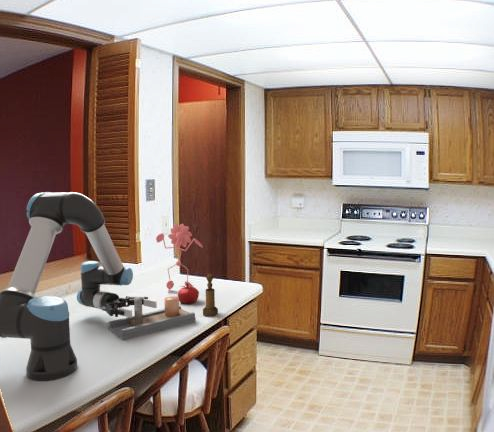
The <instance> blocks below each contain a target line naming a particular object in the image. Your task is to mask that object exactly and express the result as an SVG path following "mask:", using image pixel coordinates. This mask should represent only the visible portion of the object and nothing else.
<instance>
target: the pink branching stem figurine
mask: <svg viewBox="0 0 494 432" xmlns="http://www.w3.org/2000/svg"><path fill="white" fill-rule="evenodd" d="M172 227H173V228H170V233H169V234H168V235H167V237H168V238H169V239H170V240H171V241H170V242H171V244H172V245H175V246H169V247H167V246H166V243H165V242H166V241H165V235H164V233H163V232H162V233H159V234H157V236H156V238H155V240H156V243H160V242H162V241H163V245H164V248H165V249H166V250H167V249H177V250H178V251H179V252H180V253H179V257H178V260H177V261H176V262H175V264H174V265H172V266H170V267H168V269H167V273H168V277H169V279H168V281H167V282H166V289H168V294H170V291H171V289H173V288H174V286H175V283H174V281H173V280H171V275H170V269H172V268H173V267H175V266H177V267H181V266H182V267H184V268H185V269H186V270H187V277H186V281H184V286H186V287H187V285H186V283H188V287H190V286H191V287H193V288H194V286H192V285H193V284H192V283H191V282H189V268H187V267H186V265H184V264H182V262H181V256H182V251H183V252H187V250H189V247H190V246H191V245H192V244H193V242H194V243H195V244H196V245H197V246H199V247H200V248H202V249H204V248H203V244H202V243H201V242H200V241H199V240H198V239H196V238H195V237H194V238H193V239H191V237H192V236H193V234H192V232H191V231H189V230H190V227H189V226H187V225H185V224H184V223H181V224H180V225H178V223H175V224H173V226H172ZM181 246H182V247H184V248H185V249H183V248H181Z"/></svg>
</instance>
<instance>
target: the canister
mask: <svg viewBox="0 0 494 432" xmlns="http://www.w3.org/2000/svg"><path fill="white" fill-rule="evenodd" d="M179 306H180V301H179V297H178V296H166V297H164V309H165V316H166V317H175V316H178V315H179Z"/></svg>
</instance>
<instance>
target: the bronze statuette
mask: <svg viewBox="0 0 494 432" xmlns="http://www.w3.org/2000/svg"><path fill="white" fill-rule="evenodd" d="M205 277H206V280H207V284H206V285H207V288H206V289H205V307H203V309H202V316H204V317H206V318H207V317H209V318H210V317H216V316H218V315H219V308H218V307H216V304H215V302H216V300H215V288H213V283H212V281H213V279H214V275H213V274H212V273H208V274H206V276H205Z"/></svg>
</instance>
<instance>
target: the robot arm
mask: <svg viewBox="0 0 494 432" xmlns="http://www.w3.org/2000/svg"><path fill="white" fill-rule="evenodd" d="M26 211H27V212H26V217H27V219H28V223H29V226H30V230H29V231H28V234H27V237H26V240H25V242H24V245H23V247H22V250H21V252H20V255H19V257H18V260H17V262H16V265H15V268H14V270H13V272H12V273H13V274H12V275H11V278H10V281H9V283H8V286H7V287H6V288H4V289H3V290H1V291H0V338H2V339H6V338H9V339H10V338H14V339H27V340H28V339H29V340H30V354H29V357H28V360H27V364H26V366H25V371H26V377H27V378H28V379H30V380H33V381H42V382H43V381H51V380H56V379H61V378H64V377H66V376H69V375H70V374H72V373H74V372H75V371H76V370H77V369H78V358H77V356H76V354H75V351H74V349H73V347H72V344H71V332H70V330H71V329H70V328H71V327H70V311H69V305H68V302H67V301H66V300H65V299H64V298H61V297H59V296H54V295H46V296H42V295H40V296H36V295H35V294H36V291H37V288H38V285H39V283H40V281H41V280H40V279H41V277H42V275H43V272H44V269H45V266H46V263H47V261H48V258H49V255H50V252H51V249H52V246H53V244H54V241H55V239H56V235H58V234H60V233H61V232H63V228H64V227H65V225H76V226H77V227H78V228H79V230H80V231H81V232H82V233H84V234H85V235H86V237H87V239H88V241H89V242H90V244H91V247H92V249H93V251H94V253H95V255H96V256H97V258H98V260H97V261H96V260H89V261H84V262H82V263H81V264H80V279H81V280H80V282H81V288H80V289H79V290H78V291H77V294H76V301H77V303H79V305H82V306H85V307H88V308H94V309H98V310H101V311H102V312H104V311H105V312H106V314H108V316H110V317H115V318H118V317H119V316H121V317H122V316H123V317H125V318H127V317H130V318H131V317H132V316H133V310H132V309H127V307H128V308H129V307H130V306H134V298H136V297H137V296H129V295H127V296H125V297H120V296H119V295H118V294H117V293H114V292H109V291H106V290H101V285H107V286H120V287H121V286H129V285H131V283H132V281H133V277H134V273H133V269H132V268H131V267H127V266H124V265H123V263H122V260H121V258H120V256H119V254H118V252H117V249H116V247H115V244H114V243H113V240H112V239H111V236H110V234H109V232H108V230H107V227H106V225H105V223H106V219H105V217H104V214H103V212H102V211H101V209H100V208H99V206H98V205H97V204H96V203H95V202H94V201H93V200H92V199H90V198H89V197H87V196H86V195H84V194H82V193H80V192H73V191H70V192H51V191H45V192H38V193H35V194H34V195H33V196H32V197H30V199H29V201H28V203H27V204H26ZM100 264H101V266H100ZM140 297H141V298H142V306H144V307H149V308H152V309H157V308H158V307H157V305H158V304H157V301H156V300H153V299H149V297H148V296H140Z"/></svg>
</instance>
